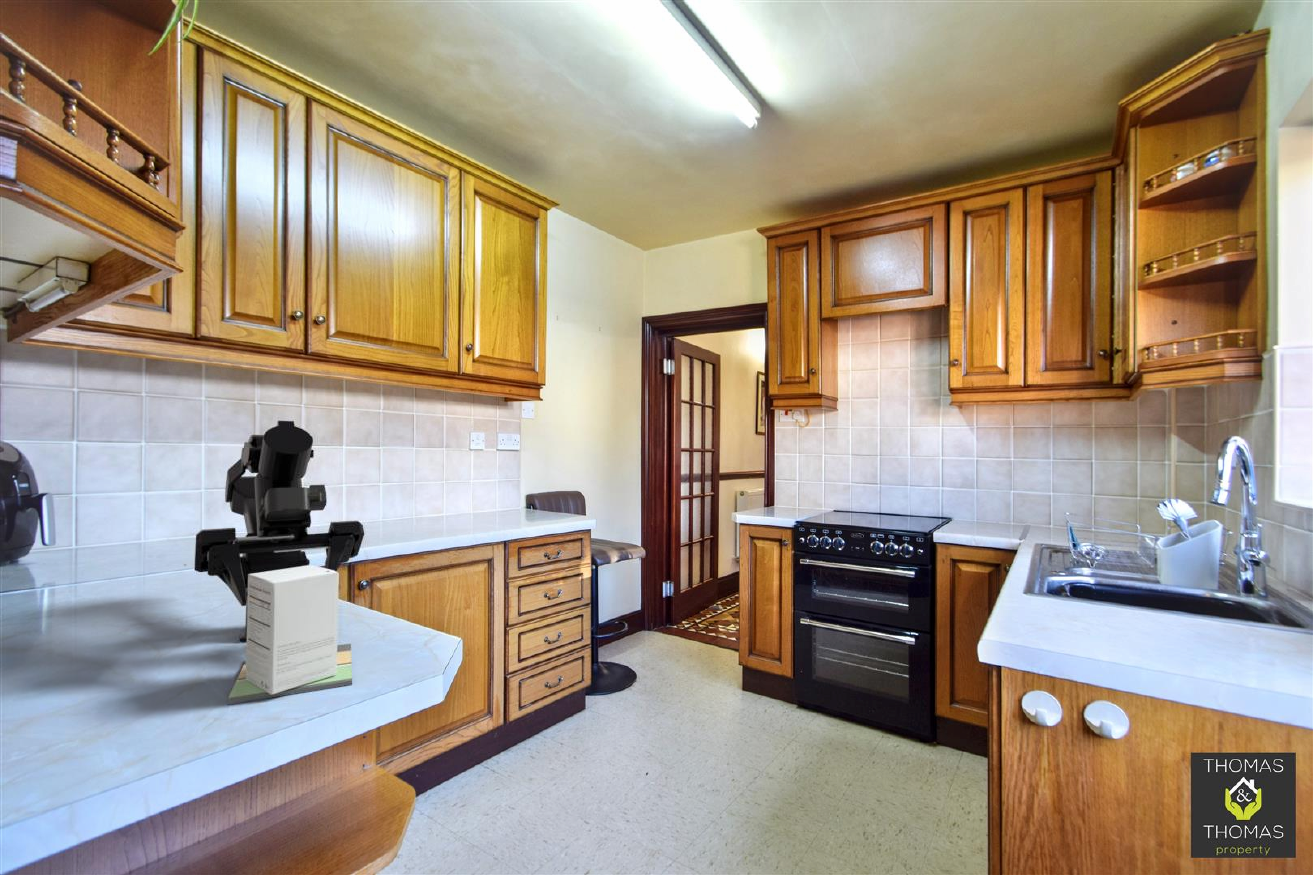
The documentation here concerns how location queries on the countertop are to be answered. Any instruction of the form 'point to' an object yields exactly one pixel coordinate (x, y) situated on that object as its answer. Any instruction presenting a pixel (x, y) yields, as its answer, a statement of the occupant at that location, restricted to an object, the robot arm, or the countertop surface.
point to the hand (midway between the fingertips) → (288, 598)
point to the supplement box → (291, 627)
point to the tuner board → (250, 692)
